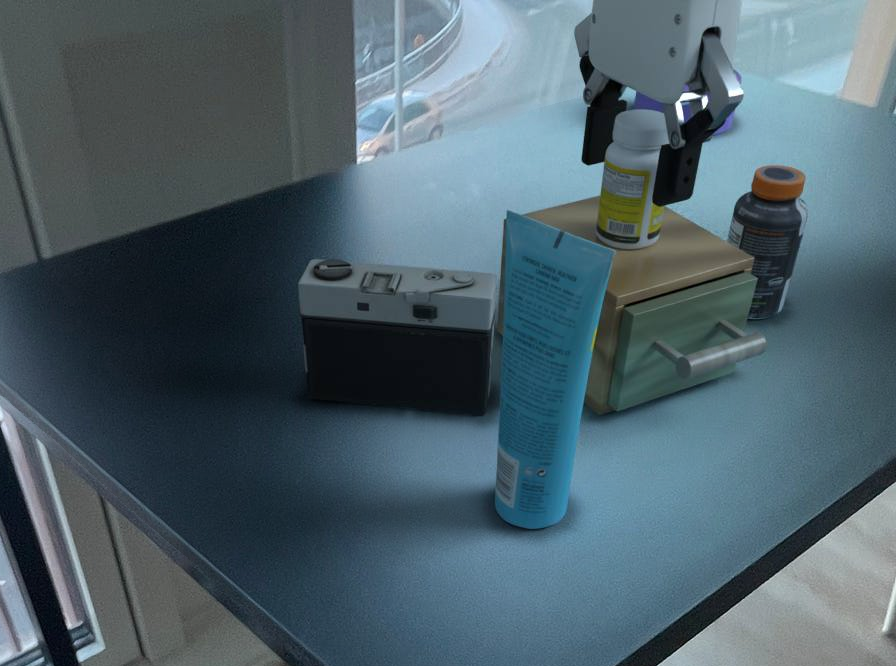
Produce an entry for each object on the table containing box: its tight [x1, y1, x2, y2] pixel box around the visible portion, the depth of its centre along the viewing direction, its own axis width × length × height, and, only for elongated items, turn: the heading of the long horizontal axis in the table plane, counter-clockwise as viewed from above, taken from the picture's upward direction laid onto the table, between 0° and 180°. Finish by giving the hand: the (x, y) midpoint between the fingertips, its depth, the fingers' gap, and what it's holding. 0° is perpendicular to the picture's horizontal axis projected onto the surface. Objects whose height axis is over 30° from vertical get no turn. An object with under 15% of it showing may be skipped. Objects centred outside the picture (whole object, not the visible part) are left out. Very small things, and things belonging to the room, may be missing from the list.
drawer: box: [608, 272, 768, 412], centre depth 77 cm, size 18×11×8 cm, turn 29°
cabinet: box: [496, 195, 754, 416], centre depth 80 cm, size 15×13×10 cm
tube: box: [494, 209, 616, 530], centre depth 62 cm, size 7×5×19 cm, turn 52°
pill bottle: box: [726, 164, 809, 320], centre depth 85 cm, size 6×6×11 cm
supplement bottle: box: [596, 109, 669, 249], centre depth 73 cm, size 5×5×8 cm
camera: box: [297, 258, 498, 416], centre depth 76 cm, size 14×8×10 cm, turn 80°
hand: (634, 179), depth 73 cm, fingers open, 7 cm apart
